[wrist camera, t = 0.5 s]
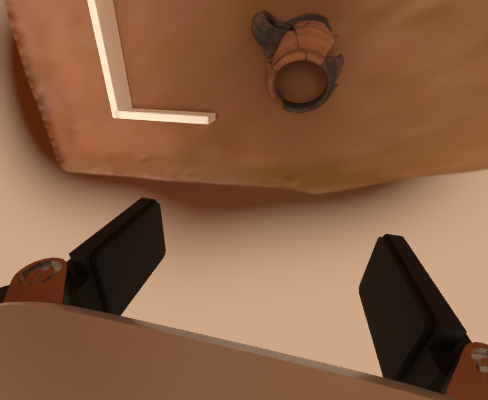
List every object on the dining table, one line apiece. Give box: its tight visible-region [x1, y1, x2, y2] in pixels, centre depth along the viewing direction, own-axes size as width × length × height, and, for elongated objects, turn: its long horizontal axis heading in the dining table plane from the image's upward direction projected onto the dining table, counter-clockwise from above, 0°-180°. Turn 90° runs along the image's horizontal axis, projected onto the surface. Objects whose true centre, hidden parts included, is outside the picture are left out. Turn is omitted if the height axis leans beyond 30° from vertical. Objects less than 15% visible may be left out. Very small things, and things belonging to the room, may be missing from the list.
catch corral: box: [87, 0, 216, 124], centre depth 31 cm, size 16×14×4 cm
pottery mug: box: [251, 10, 344, 113], centre depth 28 cm, size 12×10×8 cm
